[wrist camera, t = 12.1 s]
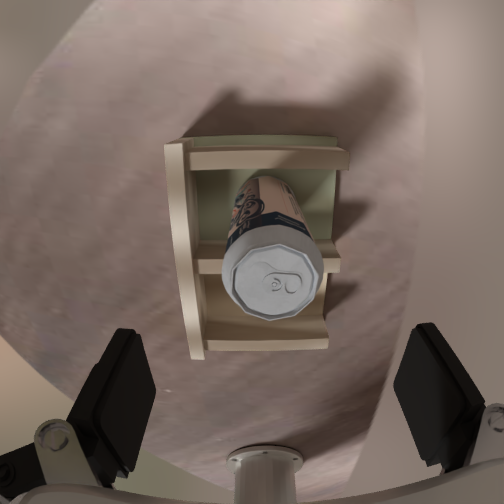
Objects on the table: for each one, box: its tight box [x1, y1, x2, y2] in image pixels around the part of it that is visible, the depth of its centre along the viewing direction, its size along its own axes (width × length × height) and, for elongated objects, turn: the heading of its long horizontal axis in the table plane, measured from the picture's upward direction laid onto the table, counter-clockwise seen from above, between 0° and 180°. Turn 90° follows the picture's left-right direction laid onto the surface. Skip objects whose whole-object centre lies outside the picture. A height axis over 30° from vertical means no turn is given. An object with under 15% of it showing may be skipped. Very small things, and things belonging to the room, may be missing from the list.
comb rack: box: [164, 135, 350, 360], centre depth 25 cm, size 18×12×5 cm, turn 1°
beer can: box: [222, 176, 324, 321], centre depth 19 cm, size 5×5×12 cm
